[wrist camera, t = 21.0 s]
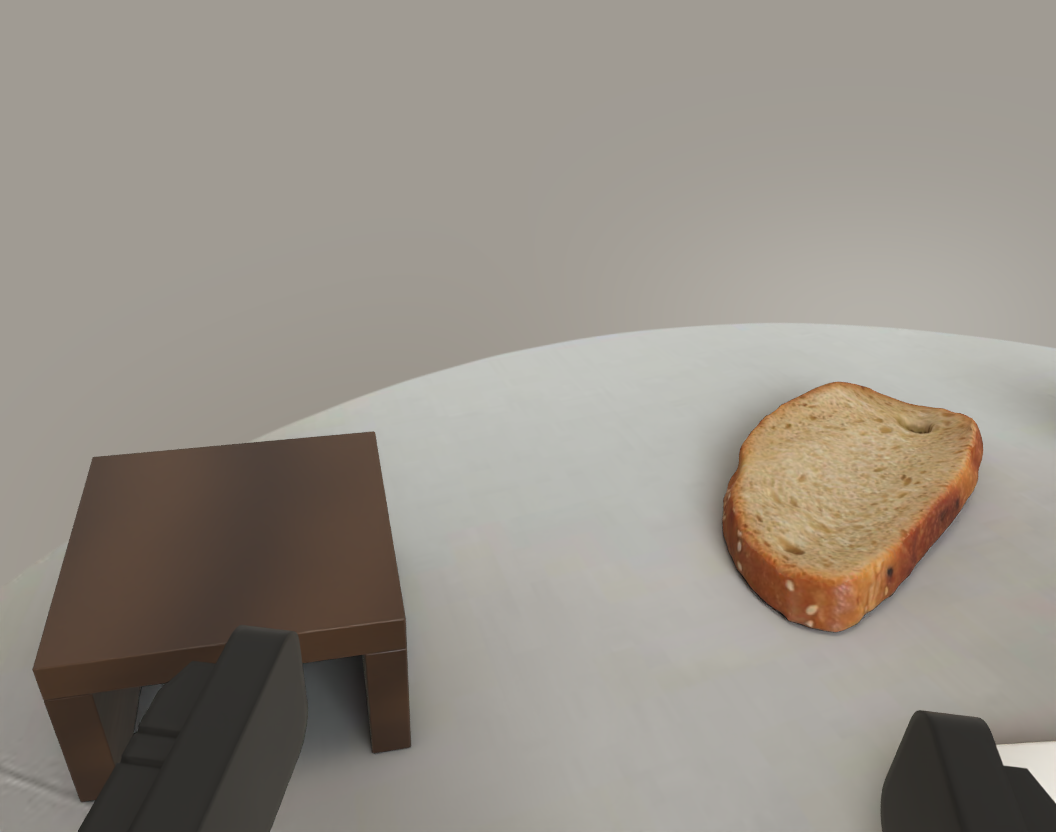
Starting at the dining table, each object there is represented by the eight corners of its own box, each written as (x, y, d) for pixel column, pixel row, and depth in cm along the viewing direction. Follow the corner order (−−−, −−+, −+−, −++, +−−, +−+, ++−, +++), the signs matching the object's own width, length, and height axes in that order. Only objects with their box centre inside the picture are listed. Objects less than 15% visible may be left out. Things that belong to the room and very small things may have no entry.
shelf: (80, 803, 33) (31, 669, 29) (124, 578, 43) (92, 456, 39) (411, 747, 36) (406, 619, 32) (381, 547, 45) (374, 430, 42)
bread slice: (774, 642, 41) (791, 580, 39) (654, 424, 56) (661, 371, 54) (1118, 600, 44) (1150, 541, 42) (918, 405, 59) (934, 355, 57)
